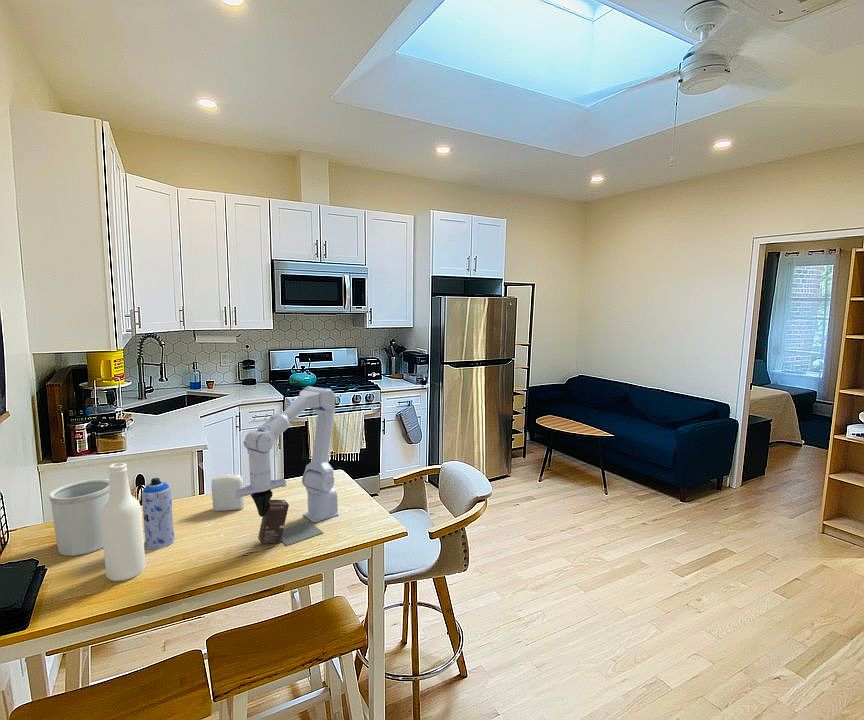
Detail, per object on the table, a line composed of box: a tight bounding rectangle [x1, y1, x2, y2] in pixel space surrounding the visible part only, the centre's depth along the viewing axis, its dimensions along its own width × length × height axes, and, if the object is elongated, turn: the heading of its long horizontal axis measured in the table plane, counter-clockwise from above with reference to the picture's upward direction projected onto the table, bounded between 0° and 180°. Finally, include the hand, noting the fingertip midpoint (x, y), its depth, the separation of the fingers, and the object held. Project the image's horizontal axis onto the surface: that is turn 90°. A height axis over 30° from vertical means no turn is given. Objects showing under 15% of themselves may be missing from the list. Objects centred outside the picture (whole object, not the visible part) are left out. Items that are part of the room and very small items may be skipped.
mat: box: [281, 520, 324, 547], centre depth 146 cm, size 12×10×1 cm
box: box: [257, 499, 290, 544], centre depth 140 cm, size 6×4×12 cm
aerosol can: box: [141, 477, 176, 550], centre depth 139 cm, size 8×8×20 cm
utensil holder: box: [48, 478, 109, 557], centre depth 138 cm, size 15×15×18 cm
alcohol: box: [101, 462, 146, 582], centre depth 123 cm, size 9×9×30 cm
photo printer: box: [211, 473, 245, 512], centre depth 162 cm, size 10×4×12 cm, turn 99°
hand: (262, 515), depth 138 cm, fingers closed
